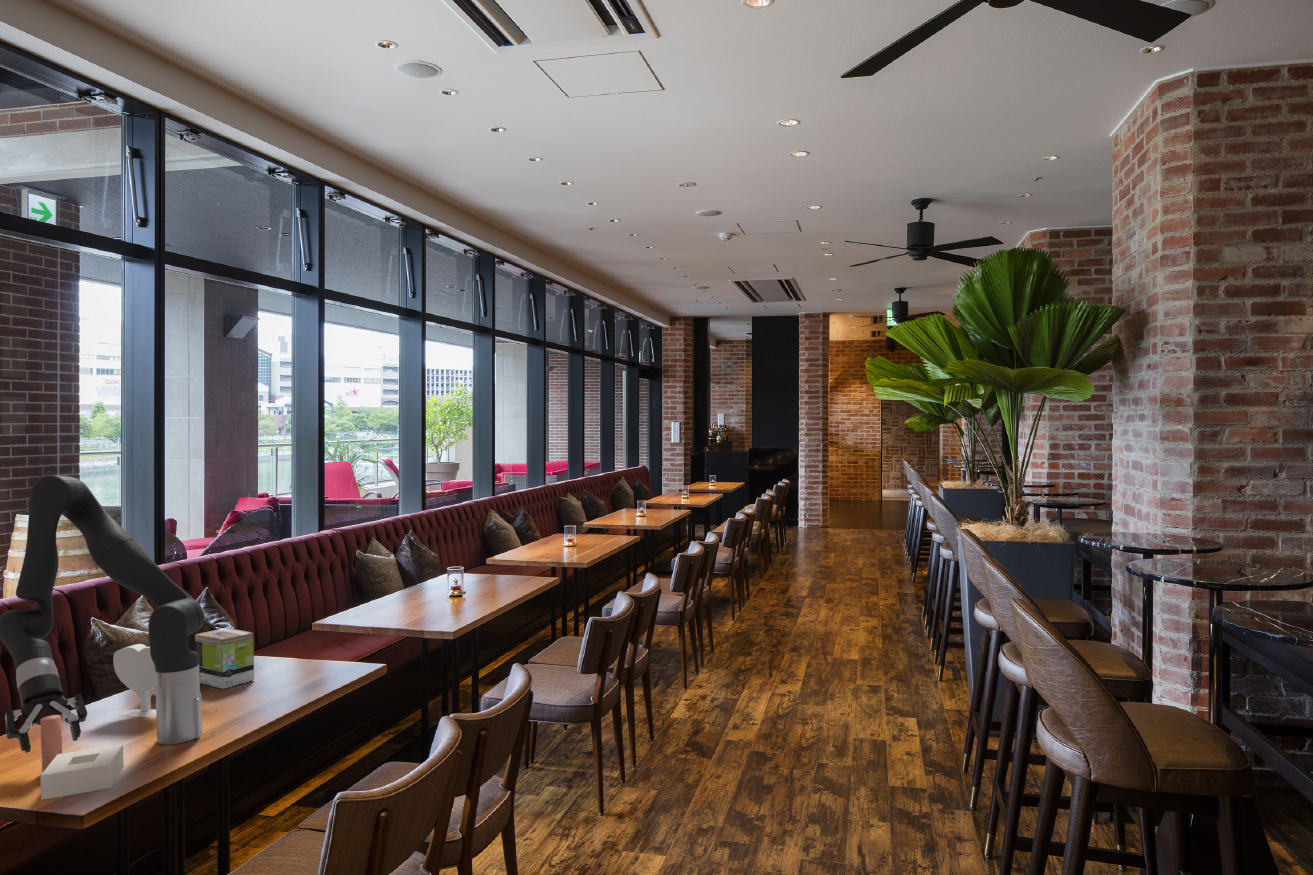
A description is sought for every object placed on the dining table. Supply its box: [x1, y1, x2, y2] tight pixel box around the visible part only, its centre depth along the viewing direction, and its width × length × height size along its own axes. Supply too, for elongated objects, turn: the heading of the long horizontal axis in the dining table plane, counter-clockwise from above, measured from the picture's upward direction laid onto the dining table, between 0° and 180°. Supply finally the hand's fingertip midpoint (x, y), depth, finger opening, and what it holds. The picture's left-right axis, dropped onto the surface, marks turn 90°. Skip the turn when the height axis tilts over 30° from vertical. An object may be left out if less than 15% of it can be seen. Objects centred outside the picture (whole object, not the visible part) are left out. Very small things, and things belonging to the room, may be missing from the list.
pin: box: [40, 715, 63, 774], centre depth 176 cm, size 4×4×12 cm
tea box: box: [194, 627, 255, 690], centre depth 239 cm, size 15×10×15 cm, turn 58°
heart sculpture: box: [112, 643, 156, 718], centre depth 213 cm, size 16×5×18 cm, turn 81°
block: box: [40, 743, 124, 801], centre depth 170 cm, size 12×12×5 cm
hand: (52, 744), depth 175 cm, fingers open, 8 cm apart
